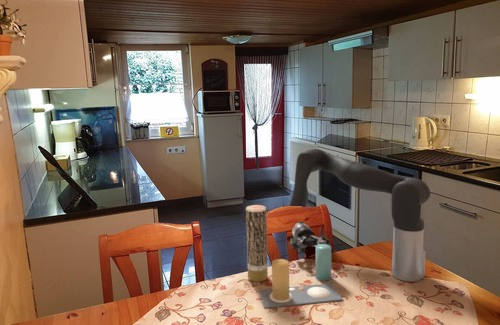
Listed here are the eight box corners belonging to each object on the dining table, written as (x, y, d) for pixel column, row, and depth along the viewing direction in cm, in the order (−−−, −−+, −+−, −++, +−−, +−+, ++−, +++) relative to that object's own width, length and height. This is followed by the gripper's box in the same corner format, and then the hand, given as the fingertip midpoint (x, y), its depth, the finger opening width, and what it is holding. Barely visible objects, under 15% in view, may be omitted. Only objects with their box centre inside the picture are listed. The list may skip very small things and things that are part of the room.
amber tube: (287, 291, 114) (286, 258, 113) (291, 299, 109) (290, 265, 107) (271, 292, 114) (270, 259, 112) (274, 301, 109) (273, 267, 107)
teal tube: (327, 273, 126) (328, 243, 125) (333, 280, 121) (333, 249, 119) (313, 274, 126) (313, 244, 124) (318, 281, 121) (318, 250, 119)
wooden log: (268, 273, 128) (266, 204, 124) (267, 282, 121) (265, 210, 117) (249, 273, 128) (246, 204, 124) (246, 282, 122) (244, 210, 118)
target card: (331, 284, 119) (331, 283, 119) (343, 300, 109) (343, 298, 109) (259, 291, 116) (259, 289, 116) (264, 308, 106) (264, 306, 106)
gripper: (285, 226, 145) (296, 241, 130) (320, 224, 147) (334, 238, 131) (286, 244, 147) (296, 261, 131) (320, 241, 148) (334, 257, 132)
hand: (315, 249), depth 131 cm, fingers open, 8 cm apart
